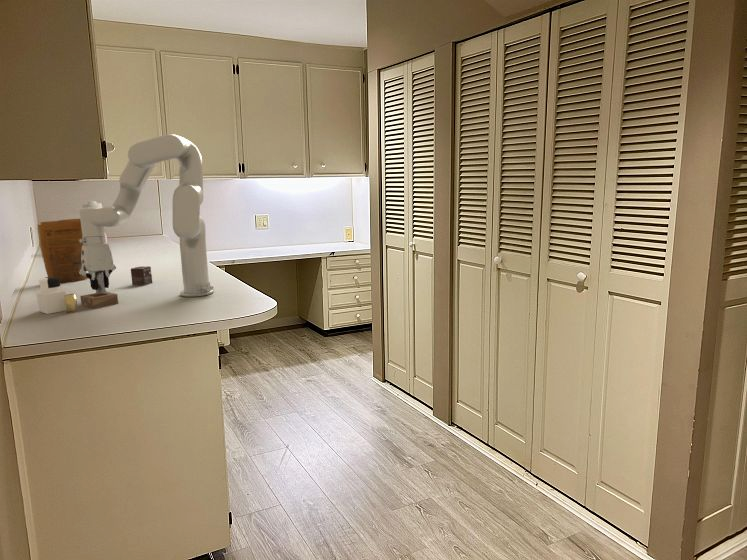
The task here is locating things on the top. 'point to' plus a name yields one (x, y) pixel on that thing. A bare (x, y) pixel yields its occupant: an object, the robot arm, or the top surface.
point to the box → (141, 275)
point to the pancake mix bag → (62, 249)
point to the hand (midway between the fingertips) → (100, 288)
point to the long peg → (100, 281)
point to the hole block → (99, 299)
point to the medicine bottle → (51, 296)
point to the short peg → (71, 303)
